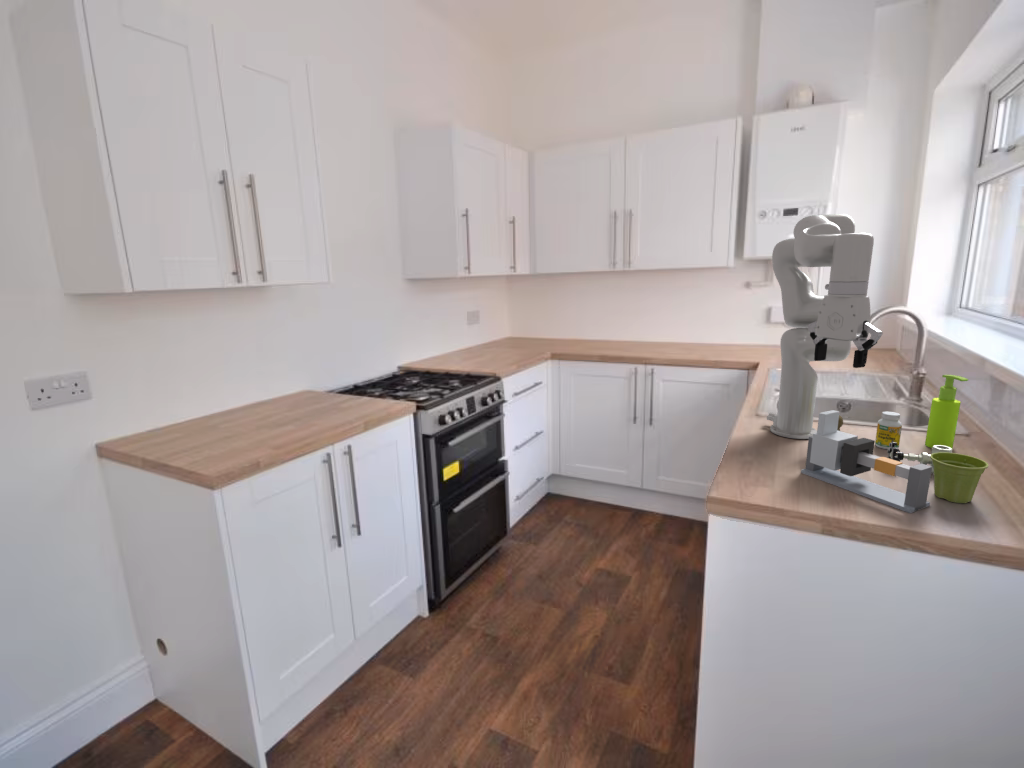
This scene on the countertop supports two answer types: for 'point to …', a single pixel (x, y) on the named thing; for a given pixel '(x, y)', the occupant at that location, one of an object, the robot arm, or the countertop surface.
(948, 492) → the plant pot
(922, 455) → the valve
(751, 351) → the countertop surface
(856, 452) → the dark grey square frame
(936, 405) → the soap dispenser
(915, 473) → the rail stand
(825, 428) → the sleeve
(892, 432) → the supplement bottle
